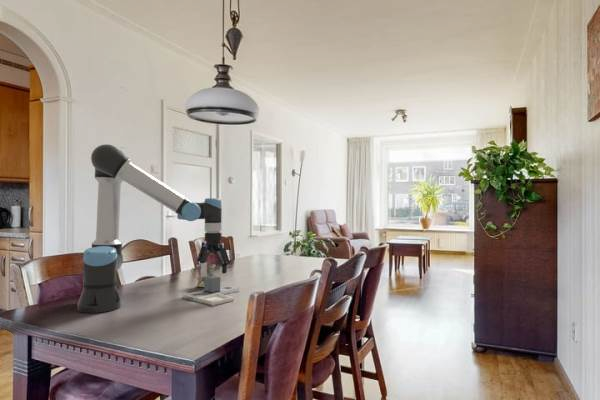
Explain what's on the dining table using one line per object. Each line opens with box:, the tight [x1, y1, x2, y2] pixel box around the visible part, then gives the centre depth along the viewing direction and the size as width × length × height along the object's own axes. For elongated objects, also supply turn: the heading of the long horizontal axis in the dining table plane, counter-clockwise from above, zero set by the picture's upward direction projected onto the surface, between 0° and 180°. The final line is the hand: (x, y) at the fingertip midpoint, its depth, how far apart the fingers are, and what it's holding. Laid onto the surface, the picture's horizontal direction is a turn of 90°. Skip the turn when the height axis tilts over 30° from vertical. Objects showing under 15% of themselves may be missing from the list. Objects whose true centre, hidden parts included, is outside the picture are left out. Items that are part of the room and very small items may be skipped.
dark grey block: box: [203, 275, 221, 293], centre depth 182 cm, size 5×5×8 cm
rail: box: [182, 285, 241, 302], centre depth 182 cm, size 26×8×2 cm, turn 141°
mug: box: [190, 263, 217, 288], centre depth 199 cm, size 12×9×11 cm
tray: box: [195, 293, 235, 307], centre depth 170 cm, size 11×11×2 cm
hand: (213, 278), depth 182 cm, fingers open, 13 cm apart
